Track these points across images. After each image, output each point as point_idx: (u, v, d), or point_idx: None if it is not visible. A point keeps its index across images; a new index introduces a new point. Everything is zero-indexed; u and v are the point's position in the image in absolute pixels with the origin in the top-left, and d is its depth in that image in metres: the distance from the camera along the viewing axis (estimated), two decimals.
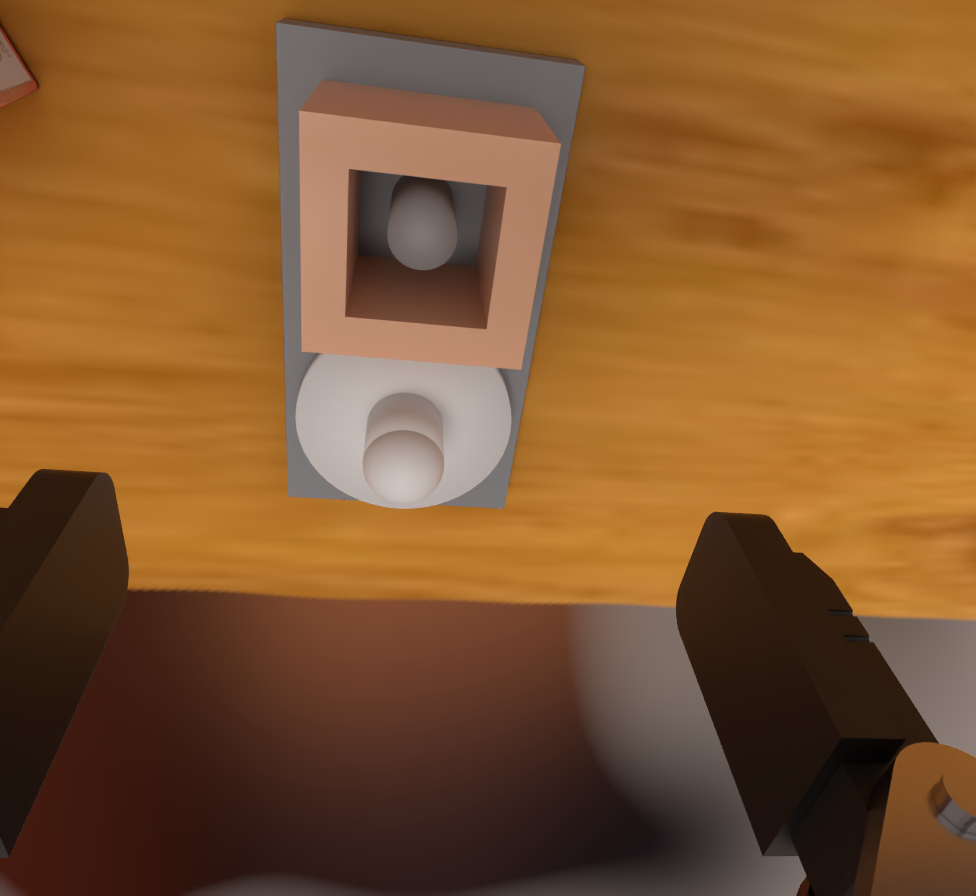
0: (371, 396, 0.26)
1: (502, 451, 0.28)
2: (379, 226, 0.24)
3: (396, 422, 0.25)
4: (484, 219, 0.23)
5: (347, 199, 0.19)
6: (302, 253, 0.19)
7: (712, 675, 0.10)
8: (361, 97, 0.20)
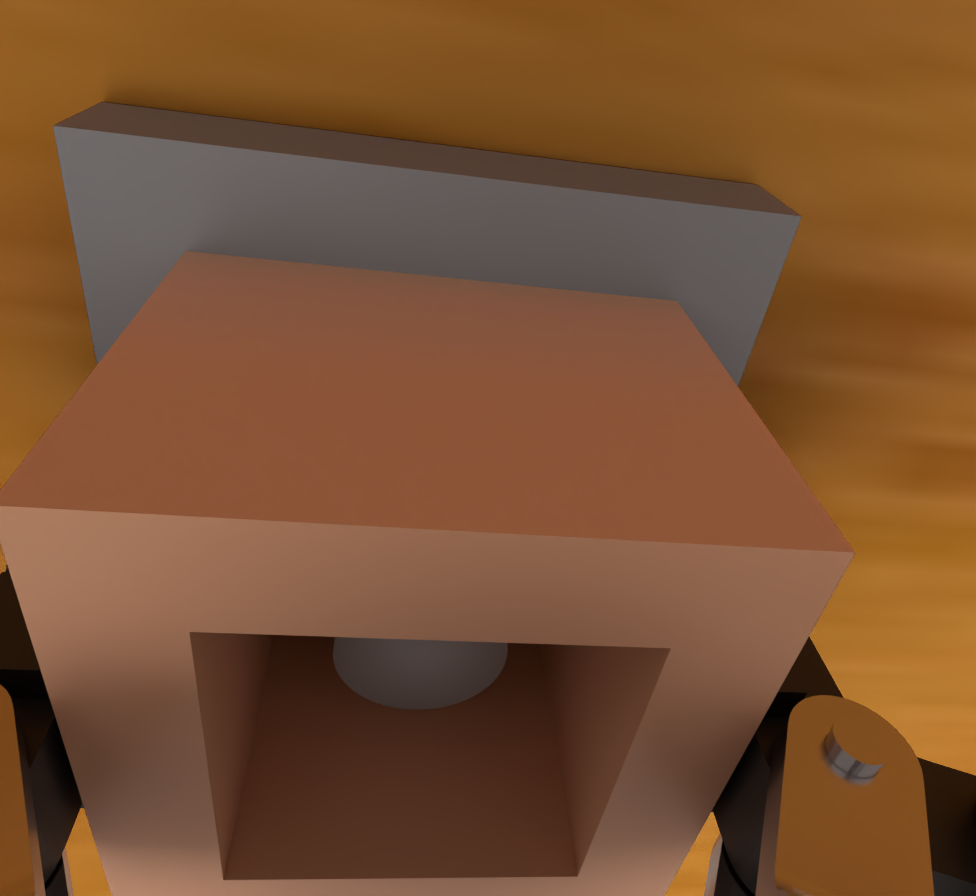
0: None
1: None
2: None
3: None
4: None
5: (196, 690, 0.06)
6: (84, 794, 0.07)
7: None
8: (259, 336, 0.07)
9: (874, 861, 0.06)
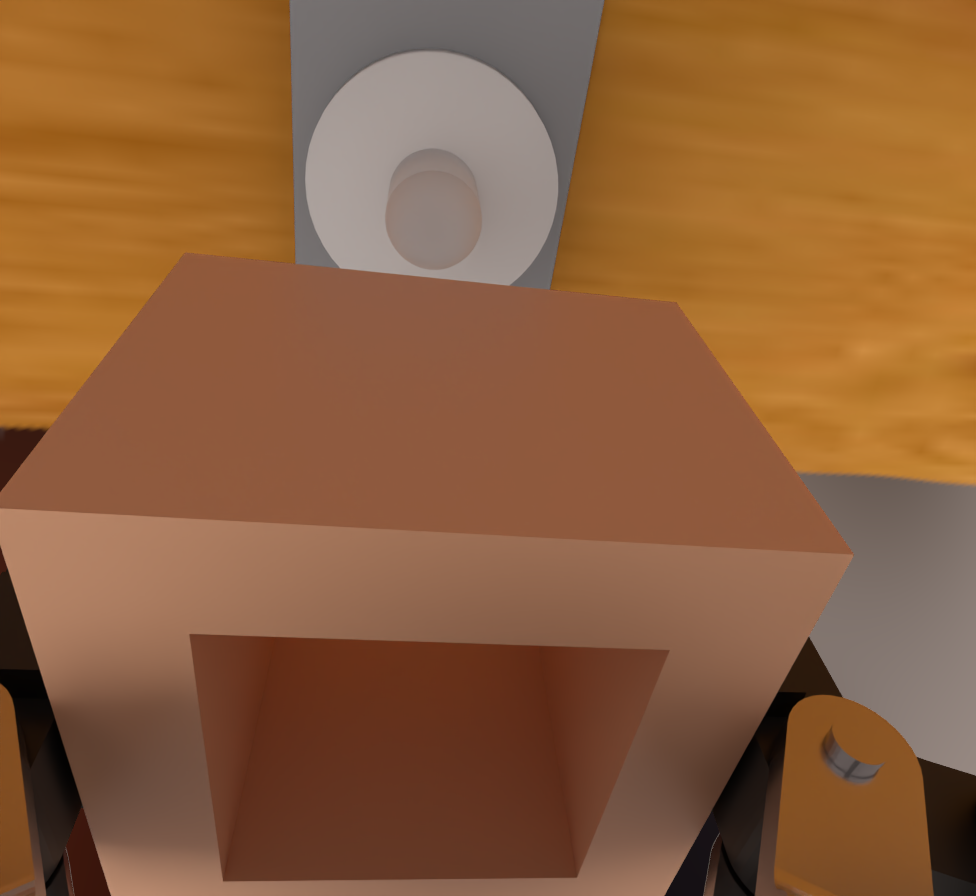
0: (395, 152, 0.22)
1: (546, 234, 0.24)
2: None
3: (426, 165, 0.21)
4: None
5: (196, 692, 0.06)
6: (84, 796, 0.07)
7: None
8: (259, 338, 0.07)
9: (873, 860, 0.06)
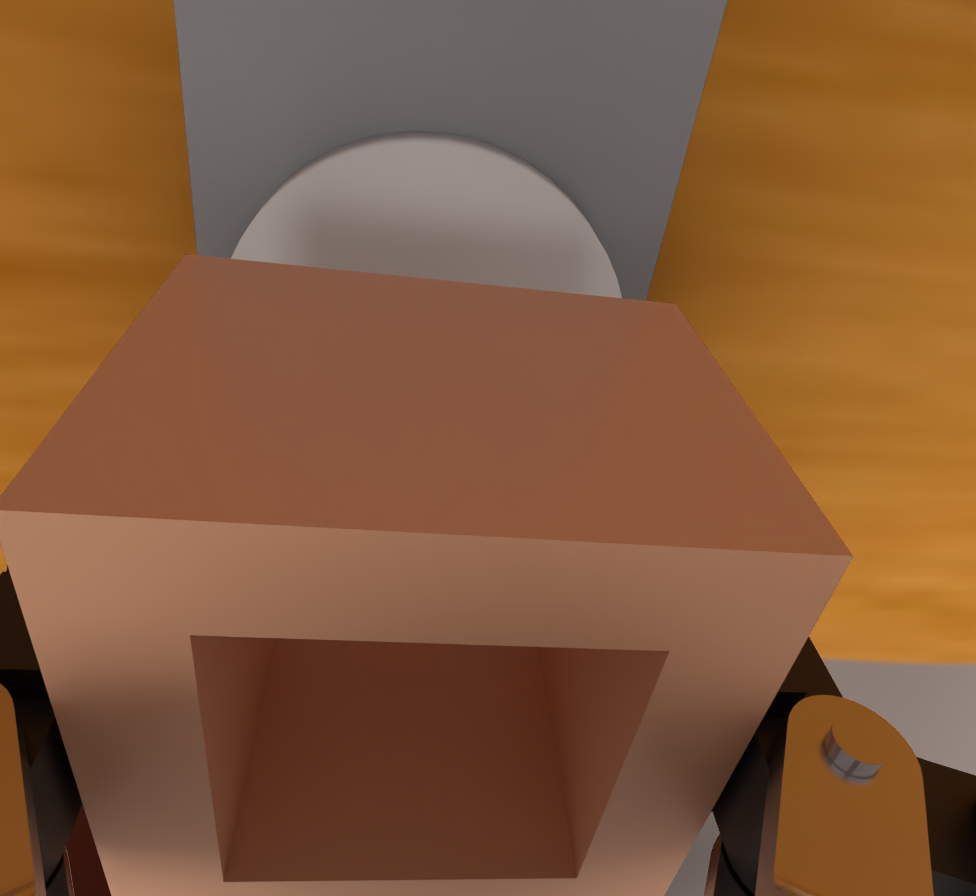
0: None
1: None
2: None
3: None
4: None
5: (197, 693, 0.06)
6: (85, 797, 0.07)
7: None
8: (259, 340, 0.07)
9: (874, 861, 0.06)
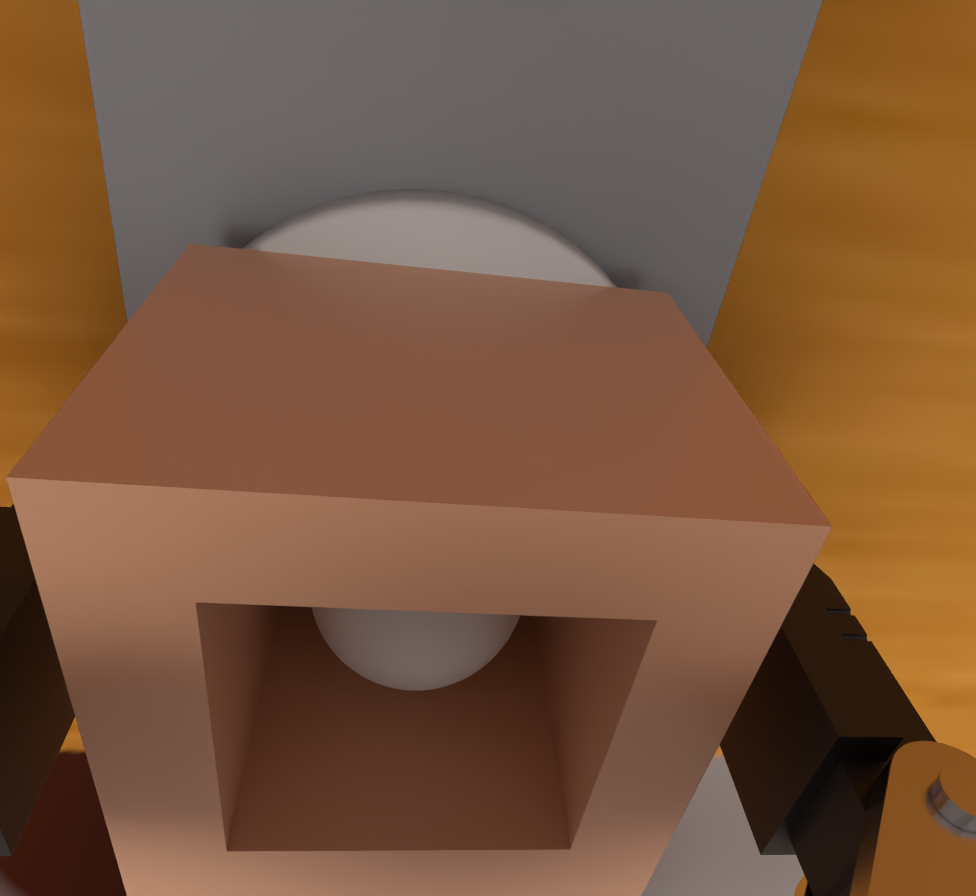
0: None
1: None
2: None
3: None
4: None
5: (202, 660, 0.07)
6: (93, 764, 0.07)
7: None
8: (262, 324, 0.08)
9: None
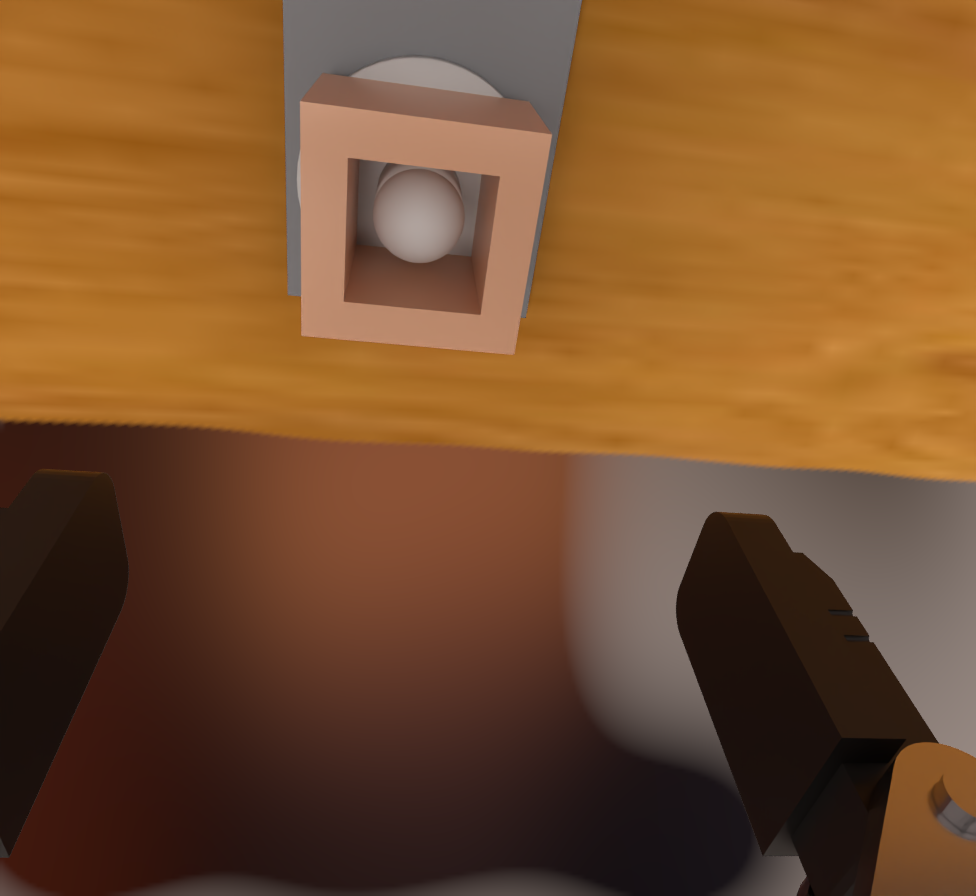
0: None
1: None
2: None
3: None
4: (479, 209, 0.24)
5: (346, 187, 0.19)
6: (302, 239, 0.20)
7: (712, 675, 0.10)
8: (360, 89, 0.21)
9: None
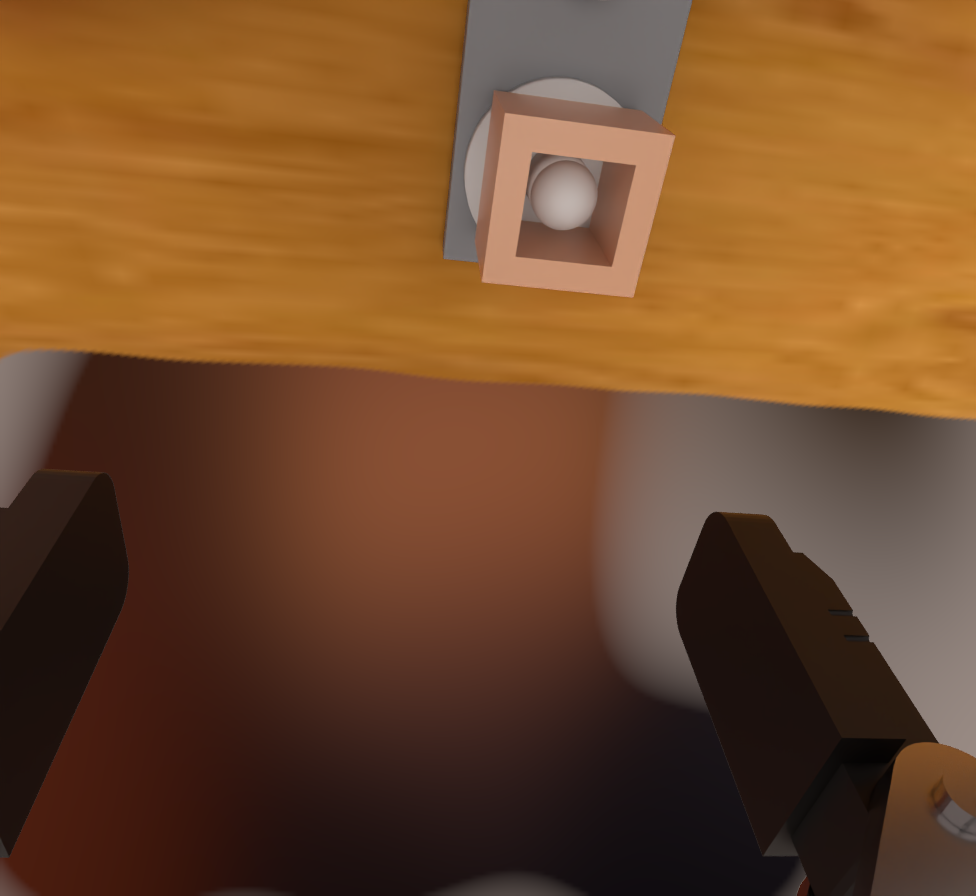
0: None
1: None
2: None
3: (560, 157, 0.30)
4: (601, 191, 0.32)
5: (528, 173, 0.27)
6: (493, 210, 0.28)
7: (712, 675, 0.10)
8: (530, 103, 0.29)
9: None
